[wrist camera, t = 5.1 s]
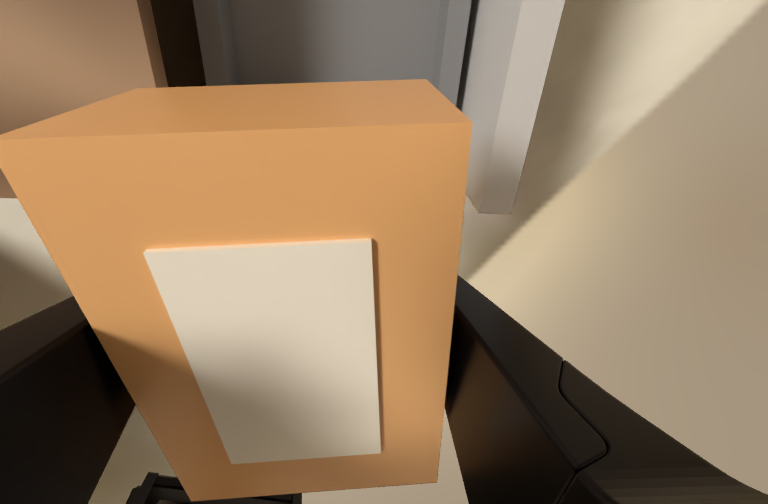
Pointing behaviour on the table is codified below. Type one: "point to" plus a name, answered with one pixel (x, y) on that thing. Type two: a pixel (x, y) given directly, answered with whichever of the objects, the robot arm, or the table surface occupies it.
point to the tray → (402, 62)
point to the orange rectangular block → (264, 270)
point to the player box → (72, 57)
